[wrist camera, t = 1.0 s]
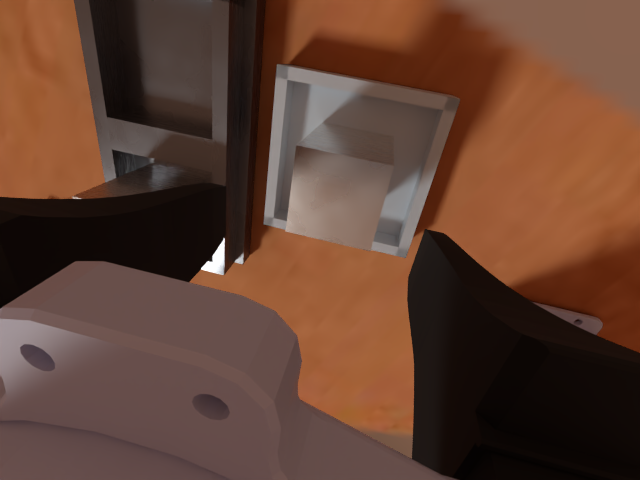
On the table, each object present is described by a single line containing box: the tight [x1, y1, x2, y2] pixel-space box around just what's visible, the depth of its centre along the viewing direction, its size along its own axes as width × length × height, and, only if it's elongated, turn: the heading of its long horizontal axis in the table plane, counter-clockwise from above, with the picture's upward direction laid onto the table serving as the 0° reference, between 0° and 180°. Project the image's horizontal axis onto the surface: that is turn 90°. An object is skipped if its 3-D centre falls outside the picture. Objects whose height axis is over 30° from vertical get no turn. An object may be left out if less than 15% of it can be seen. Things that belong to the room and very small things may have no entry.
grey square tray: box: [264, 64, 460, 258], centre depth 19 cm, size 9×9×2 cm
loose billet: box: [286, 122, 394, 251], centre depth 17 cm, size 4×4×6 cm
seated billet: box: [72, 164, 210, 199], centre depth 19 cm, size 4×4×6 cm
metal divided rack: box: [74, 0, 265, 275], centre depth 20 cm, size 9×16×3 cm, turn 171°
